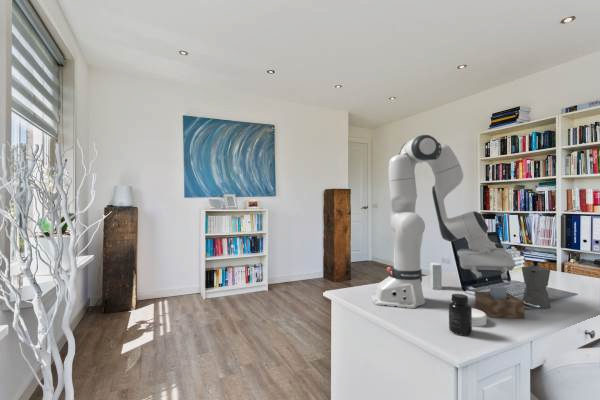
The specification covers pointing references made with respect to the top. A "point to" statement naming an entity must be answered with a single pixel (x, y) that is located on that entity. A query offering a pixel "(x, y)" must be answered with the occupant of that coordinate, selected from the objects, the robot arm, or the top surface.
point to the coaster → (478, 318)
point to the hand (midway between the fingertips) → (492, 277)
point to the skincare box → (435, 276)
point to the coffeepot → (536, 285)
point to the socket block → (499, 306)
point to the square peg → (497, 292)
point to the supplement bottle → (460, 315)
